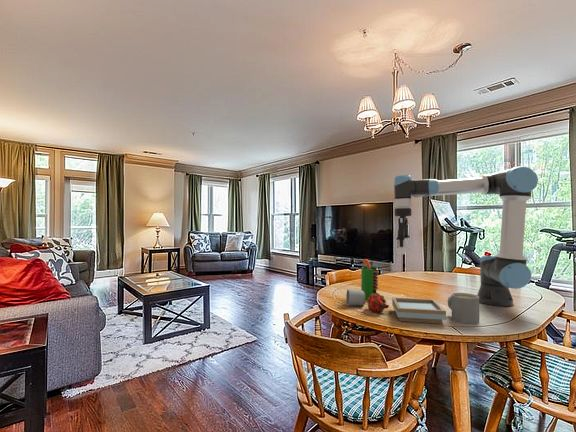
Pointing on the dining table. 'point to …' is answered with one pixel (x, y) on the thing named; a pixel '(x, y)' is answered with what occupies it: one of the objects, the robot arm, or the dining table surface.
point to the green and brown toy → (369, 279)
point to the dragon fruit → (376, 302)
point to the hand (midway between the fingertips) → (403, 252)
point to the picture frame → (419, 310)
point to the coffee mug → (464, 307)
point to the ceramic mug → (355, 297)
